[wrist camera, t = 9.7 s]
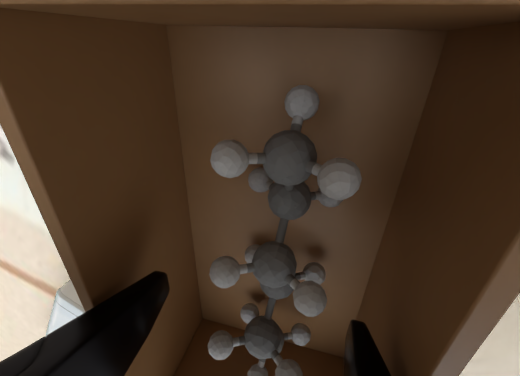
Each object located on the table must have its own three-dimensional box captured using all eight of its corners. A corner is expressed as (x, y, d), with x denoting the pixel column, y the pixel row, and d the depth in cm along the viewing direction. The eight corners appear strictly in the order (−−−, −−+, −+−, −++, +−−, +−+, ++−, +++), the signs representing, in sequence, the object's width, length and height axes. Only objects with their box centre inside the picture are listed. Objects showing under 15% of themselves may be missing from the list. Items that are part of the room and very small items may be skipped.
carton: (160, 9, 10) (-73, -33, 4) (468, 11, 8) (791, -71, 2) (199, 314, 18) (138, 431, 13) (350, 356, 16) (354, 518, 11)
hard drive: (111, 397, 26) (147, 355, 20) (39, 353, 26) (51, 294, 19) (122, 379, 28) (160, 334, 21) (54, 337, 27) (71, 277, 21)
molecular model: (308, 333, 15) (295, 443, 11) (240, 313, 16) (204, 409, 12) (371, 84, 9) (398, 124, 4) (249, 72, 10) (175, 96, 5)
